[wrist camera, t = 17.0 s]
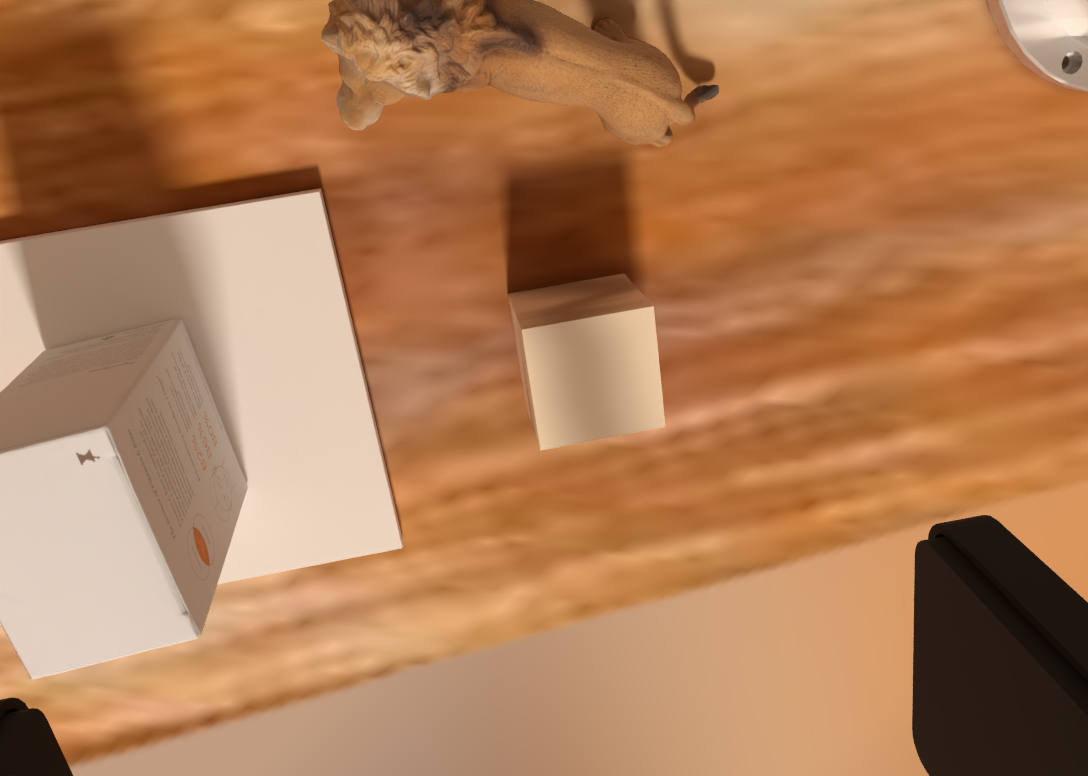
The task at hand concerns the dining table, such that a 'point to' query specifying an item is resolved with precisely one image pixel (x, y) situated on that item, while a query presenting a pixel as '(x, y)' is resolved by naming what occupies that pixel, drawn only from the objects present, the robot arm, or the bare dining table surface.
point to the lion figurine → (504, 62)
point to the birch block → (588, 360)
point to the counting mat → (232, 357)
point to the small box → (112, 499)
